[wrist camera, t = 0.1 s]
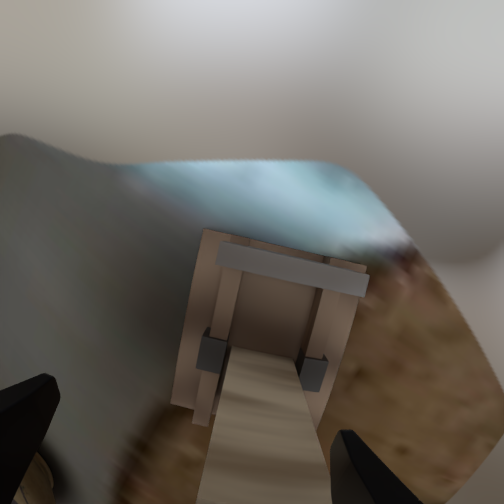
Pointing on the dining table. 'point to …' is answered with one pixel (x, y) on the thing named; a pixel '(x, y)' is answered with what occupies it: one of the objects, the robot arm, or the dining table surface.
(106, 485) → the dining table surface
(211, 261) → the peg housing
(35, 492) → the decorative pitcher
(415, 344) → the dining table surface
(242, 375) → the birch peg
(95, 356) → the dining table surface
